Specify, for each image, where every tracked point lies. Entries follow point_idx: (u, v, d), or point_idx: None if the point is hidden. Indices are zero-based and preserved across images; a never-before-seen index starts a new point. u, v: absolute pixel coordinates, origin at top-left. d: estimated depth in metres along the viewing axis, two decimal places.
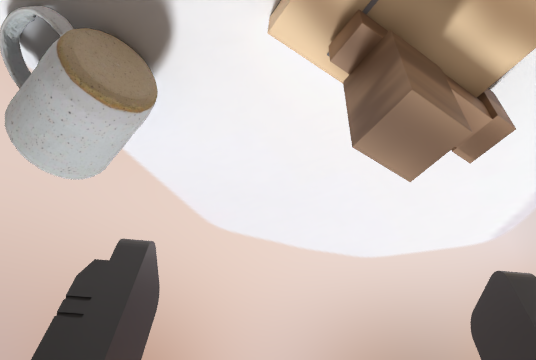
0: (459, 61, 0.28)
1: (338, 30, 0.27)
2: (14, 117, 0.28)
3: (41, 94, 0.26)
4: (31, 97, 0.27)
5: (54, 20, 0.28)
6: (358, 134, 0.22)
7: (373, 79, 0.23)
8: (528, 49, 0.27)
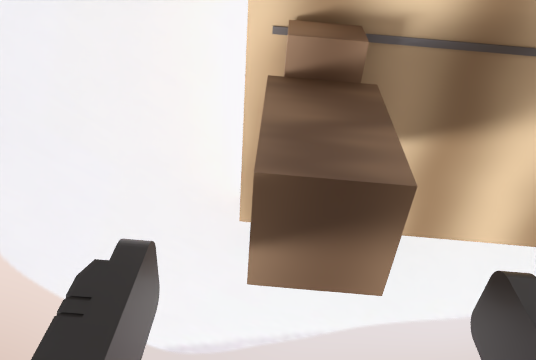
0: None
1: (315, 18, 0.17)
2: None
3: None
4: None
5: None
6: (275, 163, 0.11)
7: (331, 114, 0.14)
8: None
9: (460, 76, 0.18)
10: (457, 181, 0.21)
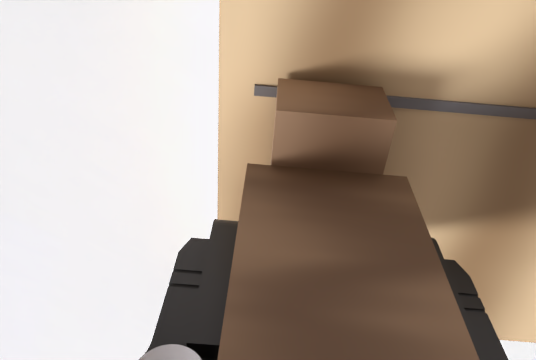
0: None
1: (315, 75, 0.12)
2: None
3: None
4: None
5: None
6: None
7: (344, 248, 0.09)
8: None
9: (515, 150, 0.13)
10: (500, 275, 0.16)
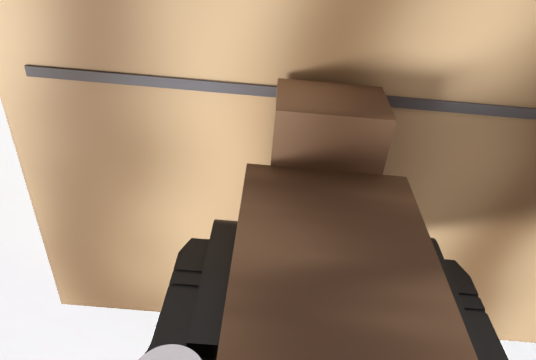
0: None
1: (82, 55, 0.12)
2: None
3: None
4: None
5: None
6: None
7: (343, 249, 0.09)
8: None
9: None
10: None
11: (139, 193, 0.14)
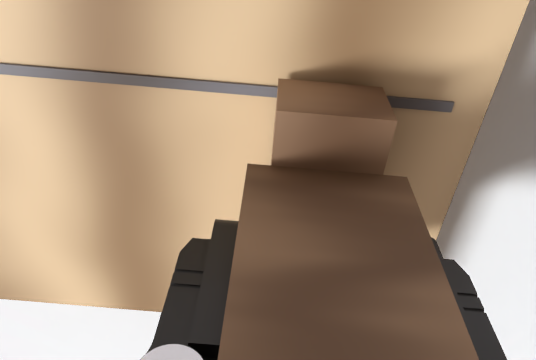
0: (28, 247, 0.16)
1: None
2: None
3: None
4: None
5: None
6: None
7: (344, 249, 0.09)
8: (116, 304, 0.18)
9: (95, 115, 0.13)
10: (158, 246, 0.16)
11: None
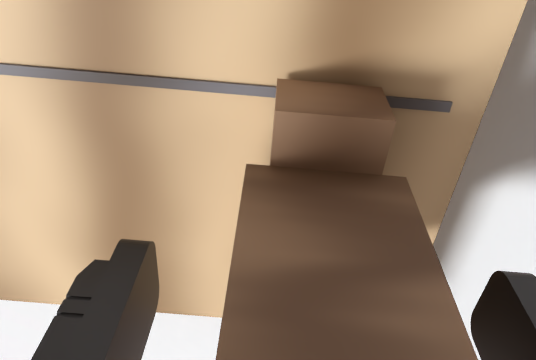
0: (26, 248, 0.16)
1: None
2: None
3: None
4: None
5: None
6: None
7: (343, 250, 0.09)
8: None
9: (93, 115, 0.13)
10: (157, 247, 0.16)
11: None
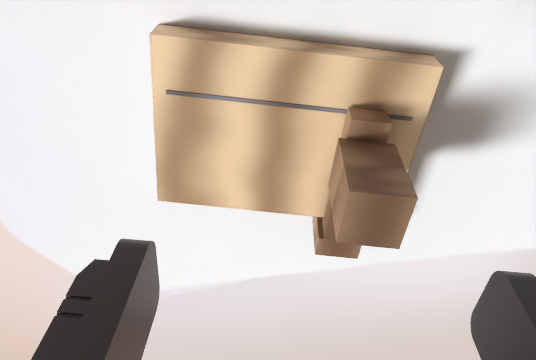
0: (223, 177, 0.35)
1: (189, 86, 0.31)
2: None
3: None
4: None
5: None
6: (357, 187, 0.26)
7: (375, 162, 0.28)
8: (256, 208, 0.37)
9: (272, 118, 0.32)
10: (283, 177, 0.35)
11: (203, 143, 0.34)
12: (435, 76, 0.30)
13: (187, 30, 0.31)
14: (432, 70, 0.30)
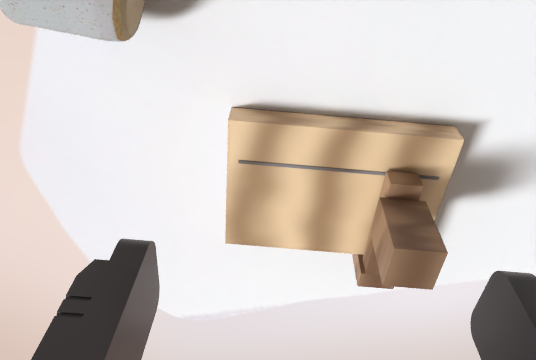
0: (281, 224, 0.43)
1: (257, 157, 0.39)
2: None
3: None
4: None
5: None
6: (399, 244, 0.33)
7: (411, 220, 0.35)
8: (307, 248, 0.45)
9: (323, 179, 0.40)
10: (331, 224, 0.43)
11: (266, 199, 0.41)
12: (457, 146, 0.37)
13: (255, 113, 0.38)
14: (455, 142, 0.37)
